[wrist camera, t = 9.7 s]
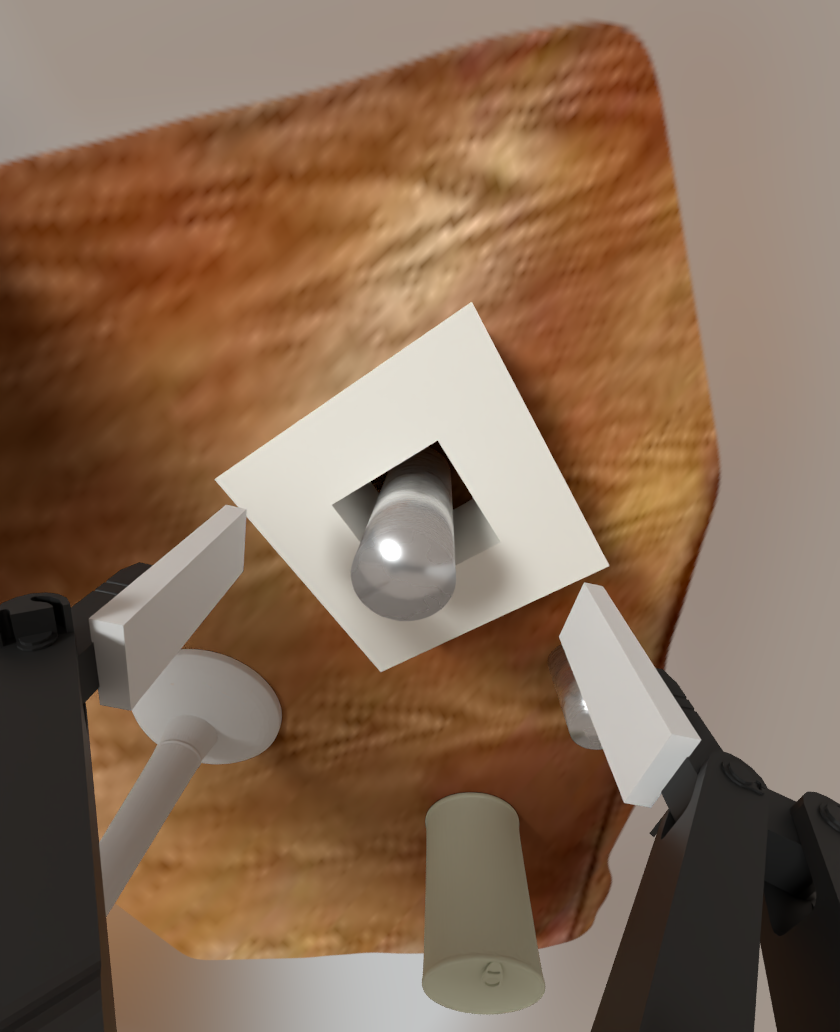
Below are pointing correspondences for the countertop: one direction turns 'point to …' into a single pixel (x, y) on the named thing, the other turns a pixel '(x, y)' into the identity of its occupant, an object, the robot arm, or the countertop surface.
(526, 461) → the hole block
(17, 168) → the countertop surface
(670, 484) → the countertop surface
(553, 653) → the short pin
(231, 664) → the candlestick
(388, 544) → the long pin
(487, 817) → the can
